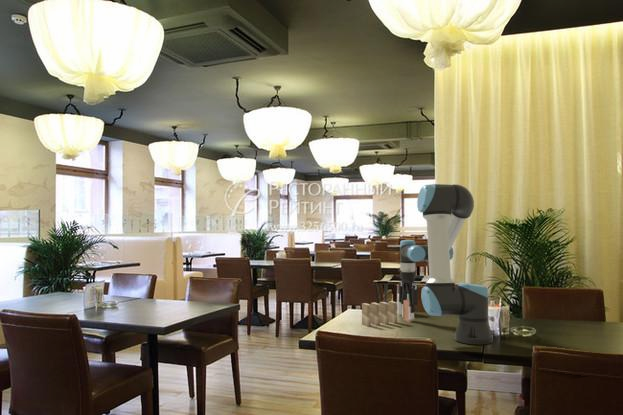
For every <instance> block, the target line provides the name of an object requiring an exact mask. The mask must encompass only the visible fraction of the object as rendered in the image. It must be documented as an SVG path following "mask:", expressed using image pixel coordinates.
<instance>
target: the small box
mask: <svg viewBox="0 0 623 415" xmlns="http://www.w3.org/2000/svg"><path fill="white" fill-rule="evenodd" d="M407 300H409V296H408V295H407ZM397 316H402V304H401V302H399V293H397Z"/></svg>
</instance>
